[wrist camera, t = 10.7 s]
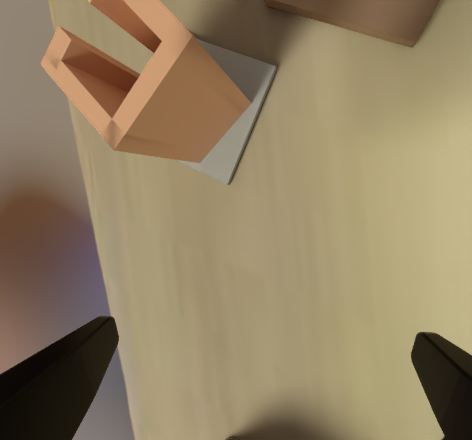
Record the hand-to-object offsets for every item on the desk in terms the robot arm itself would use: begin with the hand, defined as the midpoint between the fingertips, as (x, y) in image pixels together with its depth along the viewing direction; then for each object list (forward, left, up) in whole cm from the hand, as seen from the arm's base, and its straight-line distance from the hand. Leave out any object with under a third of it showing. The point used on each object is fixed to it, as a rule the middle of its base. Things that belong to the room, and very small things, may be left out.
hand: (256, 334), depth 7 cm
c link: (+11, -6, -12) cm, 18 cm away
